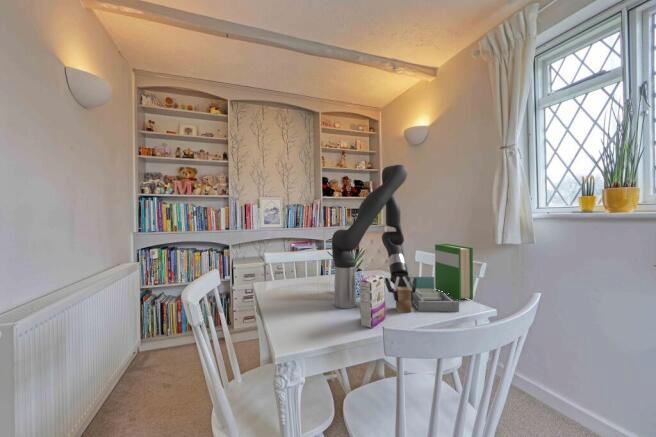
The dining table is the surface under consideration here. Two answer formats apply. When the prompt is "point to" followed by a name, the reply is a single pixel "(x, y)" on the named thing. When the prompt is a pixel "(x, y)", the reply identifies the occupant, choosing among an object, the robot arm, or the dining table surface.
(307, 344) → the dining table surface
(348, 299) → the robot arm
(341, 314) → the dining table surface
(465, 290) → the hardback book
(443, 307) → the dock
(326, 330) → the dining table surface
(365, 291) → the candy bar box
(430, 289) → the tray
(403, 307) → the walnut block
